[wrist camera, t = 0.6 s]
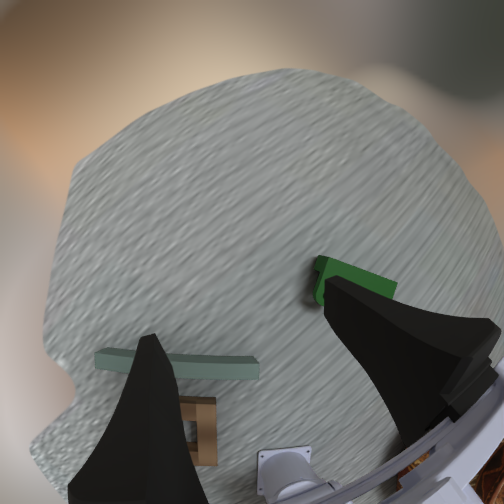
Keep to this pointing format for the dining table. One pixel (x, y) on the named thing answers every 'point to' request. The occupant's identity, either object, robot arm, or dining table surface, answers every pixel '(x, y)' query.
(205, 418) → the square frame
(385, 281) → the clamp
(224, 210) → the dining table surface
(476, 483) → the jug
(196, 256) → the dining table surface
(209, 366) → the wall
